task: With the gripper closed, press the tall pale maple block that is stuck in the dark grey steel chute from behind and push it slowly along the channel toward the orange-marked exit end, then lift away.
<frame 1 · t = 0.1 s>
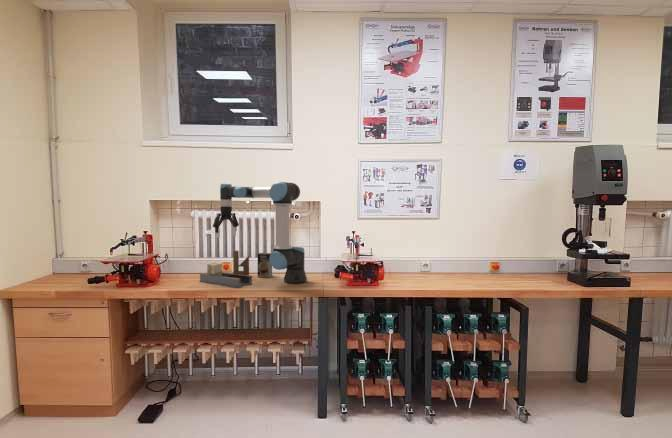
hand: (226, 236, 254), 28 cm above the workbench, tool pointing down, fingers open, 13 cm apart
maple block: (214, 271, 242), point 6 cm above the workbench, slide at 0.0 cm
coffee box: (264, 276, 258), on the workbench
dark angular piece: (241, 276, 257), on the workbench
steel chute: (225, 282, 237), on the workbench
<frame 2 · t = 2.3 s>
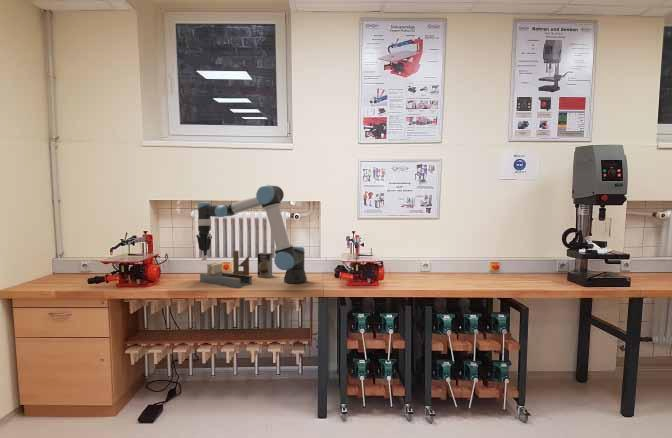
hand: (204, 260, 246), 13 cm above the workbench, tool pointing down, fingers closed
nothing on the workbench moved.
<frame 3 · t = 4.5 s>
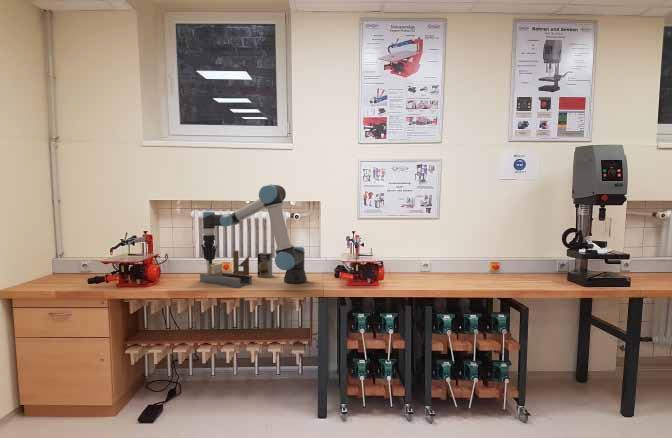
hand: (209, 269, 244), 7 cm above the workbench, tool pointing down, fingers closed
maple block: (214, 271, 242), point 6 cm above the workbench, slide at 0.2 cm, touching gripper
everything else where it was.
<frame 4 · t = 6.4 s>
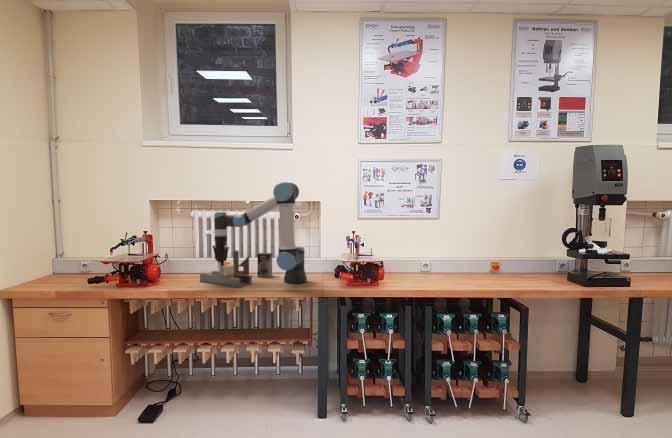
hand: (221, 271, 239), 7 cm above the workbench, tool pointing down, fingers closed
maple block: (226, 273, 236), point 6 cm above the workbench, slide at 11.1 cm, touching gripper
everything else where it was.
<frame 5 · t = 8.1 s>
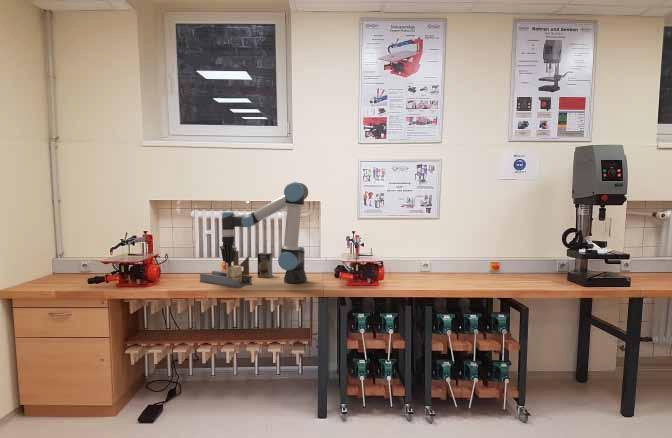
hand: (228, 272, 235), 7 cm above the workbench, tool pointing down, fingers closed
maple block: (234, 274, 233), point 6 cm above the workbench, slide at 17.8 cm, touching gripper
everything else where it was.
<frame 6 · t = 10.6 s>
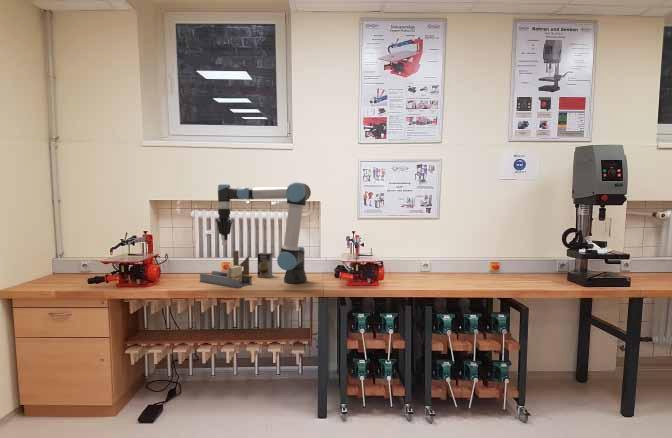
hand: (224, 245, 236), 24 cm above the workbench, tool pointing down, fingers closed
maple block: (234, 274, 233), point 6 cm above the workbench, slide at 18.0 cm
everything else where it was.
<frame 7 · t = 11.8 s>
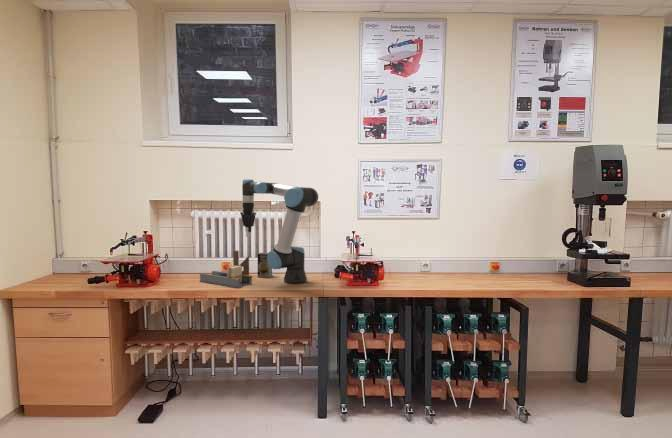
hand: (248, 236, 251), 28 cm above the workbench, tool pointing down, fingers closed
nothing on the workbench moved.
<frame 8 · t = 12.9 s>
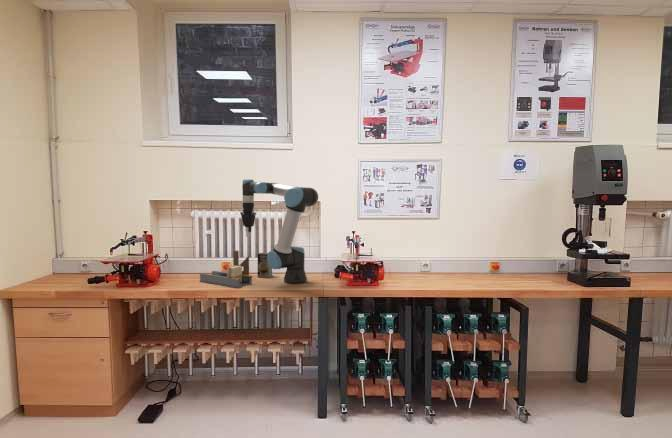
hand: (248, 236, 251), 28 cm above the workbench, tool pointing down, fingers closed
nothing on the workbench moved.
at the end: maple block slide at 18.0 cm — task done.
